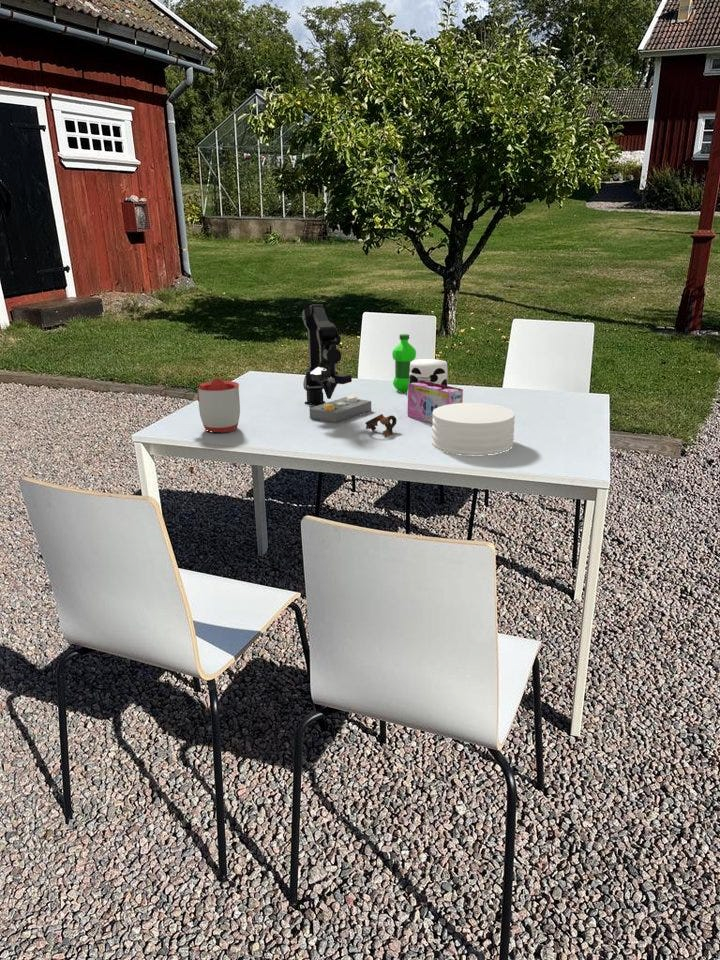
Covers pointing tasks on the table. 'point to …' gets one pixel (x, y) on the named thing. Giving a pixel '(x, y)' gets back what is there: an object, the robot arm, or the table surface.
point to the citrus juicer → (219, 405)
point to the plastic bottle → (403, 363)
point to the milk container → (428, 371)
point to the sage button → (341, 404)
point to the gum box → (430, 398)
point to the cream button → (352, 399)
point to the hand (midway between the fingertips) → (329, 398)
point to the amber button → (329, 407)
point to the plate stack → (473, 428)
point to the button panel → (340, 410)
